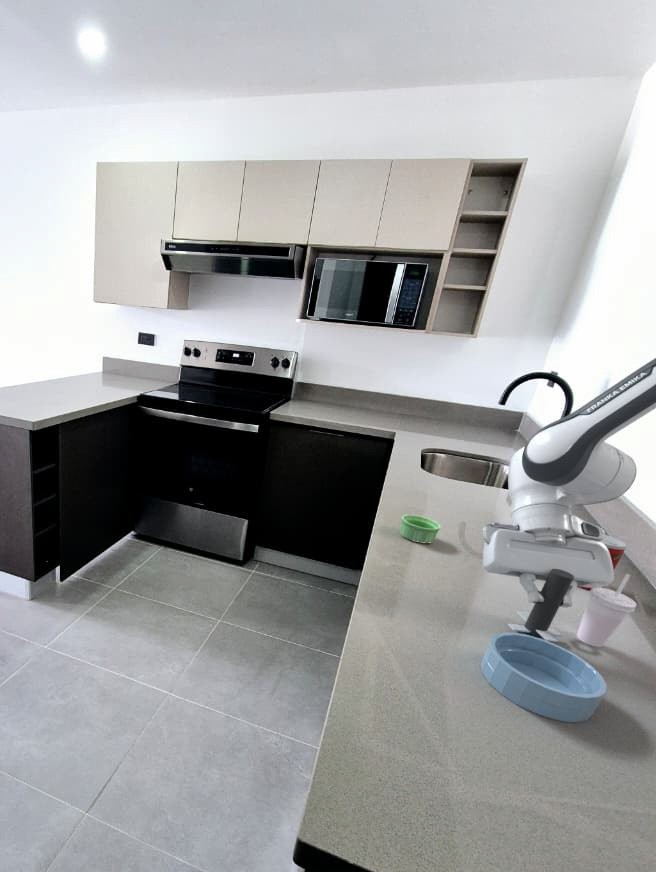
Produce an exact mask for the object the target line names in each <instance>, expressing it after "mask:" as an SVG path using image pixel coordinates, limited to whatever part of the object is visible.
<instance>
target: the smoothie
mask: <svg viewBox="0 0 656 872" xmlns="http://www.w3.org/2000/svg"><path fill="white" fill-rule="evenodd" d="M630 577H631V574H630V573H626V574H625V575H624V577H623V579H622V581H621V582H620V584H619V587H618V588H617V590H613V589H610V588H605V587H604V588H592V589H591V590H589V592H588V594H587V595H588V596H589V597H588V600H587V603H586V606H585V610H584V612H583V615H582V619H581V620H580V621H581V622H580V624H579V627H578V630H577V632H576V638H577V639H578V640H580V641H581V642H583V643H584V644H587V645H588V646H591V647H595V648H602V647H603V646H604V645H605V644H606V643H607V641H608V640H609V639H610V637H611V636H612V635H613V634H614V633H615V632H616V630H617V629H618V628H619V627H620V625H621V624H622V623H623V622H624V620H625V619H626V618H627V616H629V614H630V613H631V612H634V611H636V610H635V609H636V608H637V603H636V601H634V600H633V599H632V598H631V597H629V596H627V595H625V594H623V593H622V591H623V590H624V588H625V586H626V585H627V583H628V581H629V579H630Z"/></svg>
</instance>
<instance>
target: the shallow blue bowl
mask: <svg viewBox="0 0 656 872" xmlns="http://www.w3.org/2000/svg"><path fill="white" fill-rule="evenodd" d="M479 667H480V671H481V674H482V676H483V677H484V678H485V680H486V681H487V683H488V684H489V685H490V686H491V687H492V688H494V690H496V691H497V692H498V693H499V694H500V695H501V696H503V697H505V699H508V700H509V701H511V702H512V703H514V704H515V705H517V706H519V707H521V708H523V709H525V710H526V711H529V712H531V713H533V714H536V715H539V716H542V717H545V718H548V719H551V720H553V721H559V722H566V723H582V722H586V721H587V720H588V719H590V718H592V717H593V715H594V713H595V711H596V710H597V709H598V707H599V705H600V703H602V702H601V701H602V700H603V698H604V696H605V695H606V693H607V686H608V685H607V682H606V681H605V679H604V677H603V676H602V674H601V673H600V672H599V671H598V670H597V669H596V668H595V667H594V666H592V664H590V663H589V662H587V661H586V660H585V659H583V658H582V657H580V656H579V655H577V654H576V653H575V652H572V651H570V650H568V649H567V648H564V647H563V646H560V645H558V644H556V643H554V642H551V641H546V640H544V639H540V638H537V637H533V636H530V635H526V634H519V633H517V632H500V633H497V634H495V635H493V636H492V637H491V639H490V641H489V643H488V646H487V648H486V649H485V652H484V654H483V657H482V659H481V661H480V663H479Z"/></svg>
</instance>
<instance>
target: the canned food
mask: <svg viewBox="0 0 656 872" xmlns="http://www.w3.org/2000/svg"><path fill="white" fill-rule="evenodd" d="M600 542H602V543H603V544H604V545H605V546H606V547H607V548H608V550H609V553H610V556H611V560H612V565H613V570H614V571H615V569H616V567H617V565H618V563H619V562H620V560H621V558H622V556H623V554H624V552H625V550H626V547H627V544H626V543H625V542H624V541H622V540H620V539H618V538H615V537H614V536H610V535H608V534H605V539H603V540H601V541H600ZM605 587H606V586H604V587H600V588H605ZM577 588H581V589H584V590H588V591H590V590H591V589H592V588H589V587H582V586H577Z"/></svg>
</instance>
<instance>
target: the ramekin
mask: <svg viewBox="0 0 656 872" xmlns="http://www.w3.org/2000/svg"><path fill="white" fill-rule="evenodd" d="M441 528H442V527H441V524H439V523H438V522H437V521H436V520H433V519H431V518H428V517H427V516H426V517H425V516H422V515H418V514H404V515H402V517H401V524H400V529H399V534H400V536H401V535H402V536H401V537H403V536H404V537H406V538H408V539H411V540H415V541H419V542H425V543H429V542H432V543H433V542H434V541H435V539H436V537H437V534H438V533H439V531H440V530H441ZM404 537H403V538H404ZM406 538H405V539H406ZM408 539H407V540H408Z"/></svg>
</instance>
